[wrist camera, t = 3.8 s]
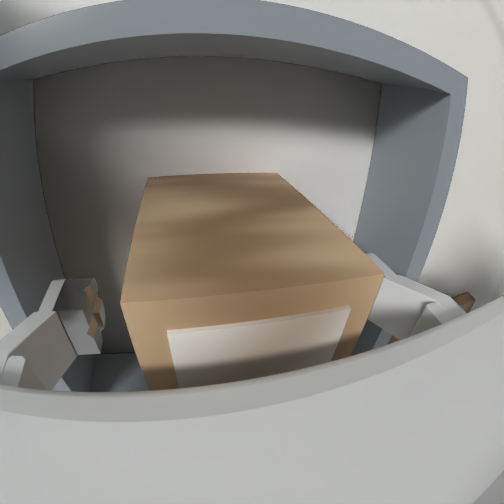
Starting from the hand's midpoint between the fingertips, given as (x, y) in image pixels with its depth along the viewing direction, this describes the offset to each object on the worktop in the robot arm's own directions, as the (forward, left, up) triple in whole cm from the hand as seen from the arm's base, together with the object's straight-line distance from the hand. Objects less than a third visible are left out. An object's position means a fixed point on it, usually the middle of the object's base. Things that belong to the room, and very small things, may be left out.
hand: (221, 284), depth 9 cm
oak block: (0, 0, -3) cm, 3 cm away
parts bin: (0, 0, -3) cm, 3 cm away
